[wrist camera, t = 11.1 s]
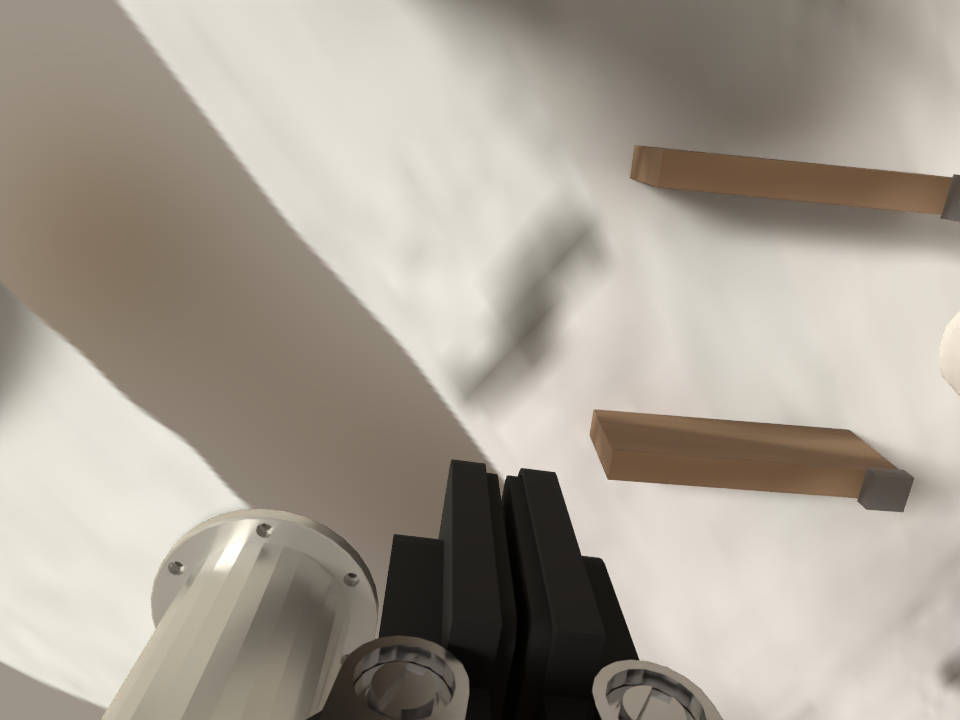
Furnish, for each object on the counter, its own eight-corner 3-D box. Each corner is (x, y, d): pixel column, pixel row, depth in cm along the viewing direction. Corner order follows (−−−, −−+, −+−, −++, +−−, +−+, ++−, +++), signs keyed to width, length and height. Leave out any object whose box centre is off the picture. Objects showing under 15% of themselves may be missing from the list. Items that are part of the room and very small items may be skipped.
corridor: (841, 457, 39) (903, 512, 34) (589, 437, 38) (610, 490, 33) (921, 170, 34) (1009, 180, 29) (635, 142, 34) (669, 146, 28)
